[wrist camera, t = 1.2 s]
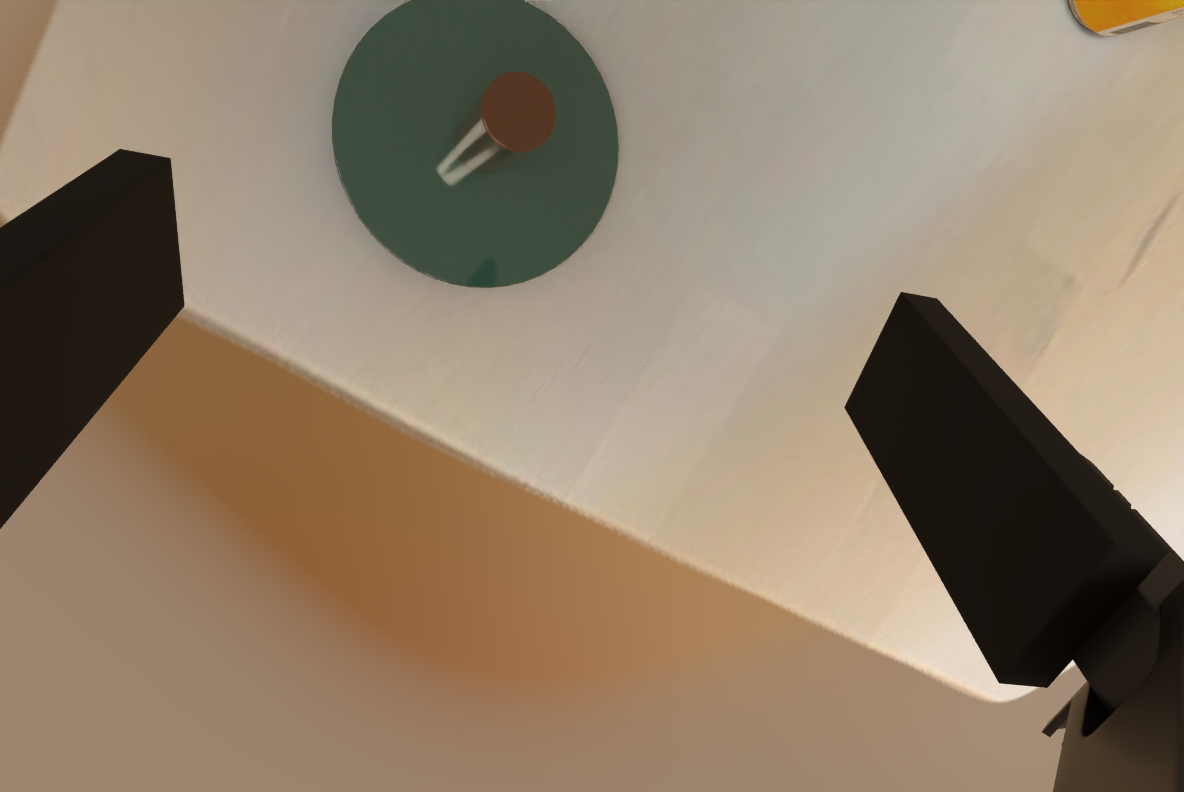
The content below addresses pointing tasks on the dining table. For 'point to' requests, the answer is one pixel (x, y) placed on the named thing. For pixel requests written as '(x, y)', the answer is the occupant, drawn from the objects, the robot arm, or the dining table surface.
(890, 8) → the dining table surface
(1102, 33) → the beer can
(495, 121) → the jar lid
